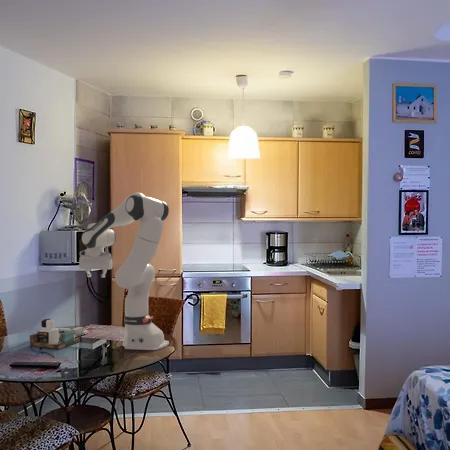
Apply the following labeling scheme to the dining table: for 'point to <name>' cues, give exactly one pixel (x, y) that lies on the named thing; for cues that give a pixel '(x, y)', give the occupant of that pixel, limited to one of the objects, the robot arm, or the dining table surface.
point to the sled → (64, 340)
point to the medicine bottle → (48, 332)
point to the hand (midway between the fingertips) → (96, 277)
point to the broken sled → (75, 331)
